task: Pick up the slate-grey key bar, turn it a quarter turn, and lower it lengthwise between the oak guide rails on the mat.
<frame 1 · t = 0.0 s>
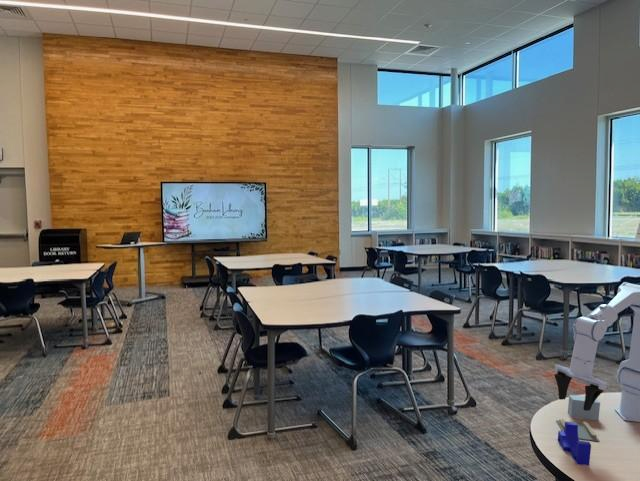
hand: (574, 404, 137), 11 cm above the table, tool pointing down, fingers open, 7 cm apart
key bar: (582, 416, 152), on the table
guide mat: (576, 431, 143), on the table
guide rails: (576, 431, 143), resting on guide mat
cable clip: (572, 453, 131), on the table
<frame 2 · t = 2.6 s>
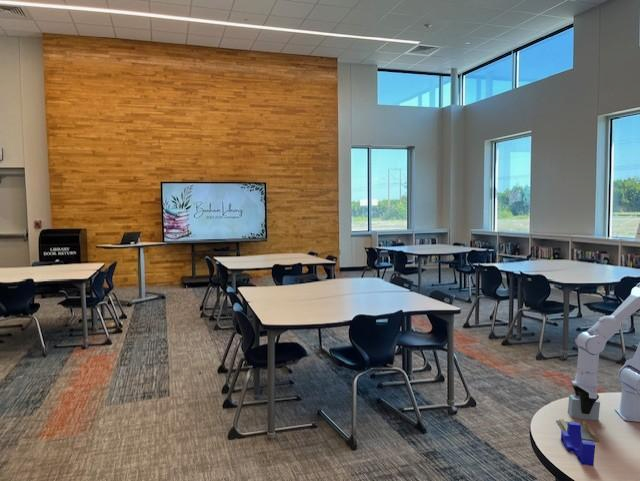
hand: (583, 410, 152), 2 cm above the table, tool pointing down, fingers closed on key bar, 4 cm apart
key bar: (582, 416, 152), on the table, touching gripper
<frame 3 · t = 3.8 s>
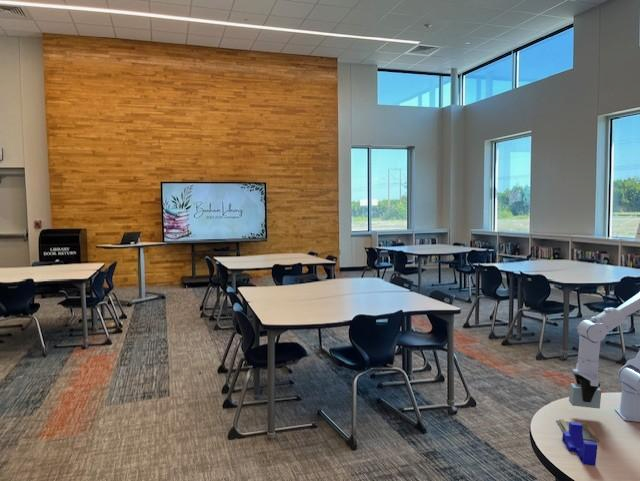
hand: (584, 398, 152), 6 cm above the table, tool pointing down, fingers closed on key bar, 4 cm apart
key bar: (584, 404, 152), point 4 cm above the table, touching gripper
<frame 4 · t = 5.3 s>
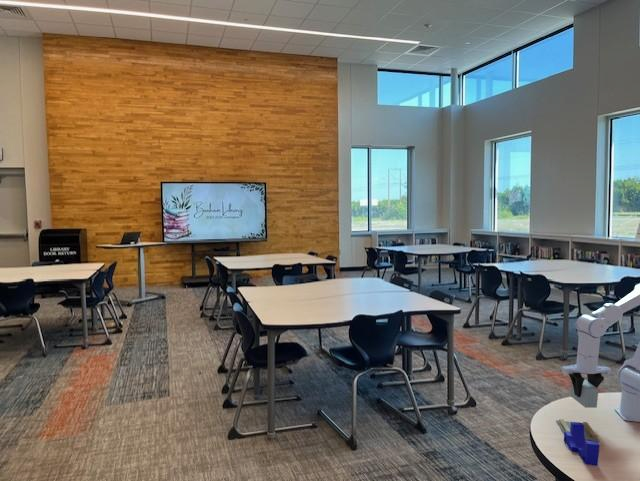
hand: (583, 395, 148), 8 cm above the table, tool pointing down, fingers closed on key bar, 4 cm apart
key bar: (583, 401, 148), point 6 cm above the table, touching gripper
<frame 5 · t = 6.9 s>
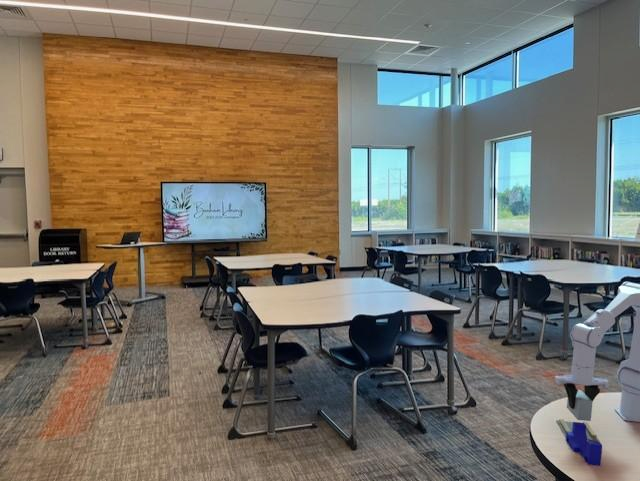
hand: (579, 408, 142), 7 cm above the table, tool pointing down, fingers closed on key bar, 4 cm apart
key bar: (578, 414, 142), point 5 cm above the table, touching gripper
when the fingers open (4 cm above the table, at t = 8.0 s): key bar drops 1 cm, resting on guide mat.
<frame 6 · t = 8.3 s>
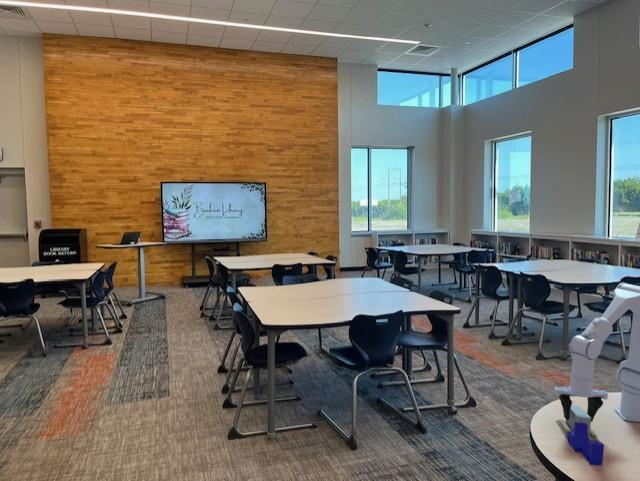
hand: (578, 419, 142), 4 cm above the table, tool pointing down, fingers open, 6 cm apart
key bar: (577, 430, 143), resting on guide mat
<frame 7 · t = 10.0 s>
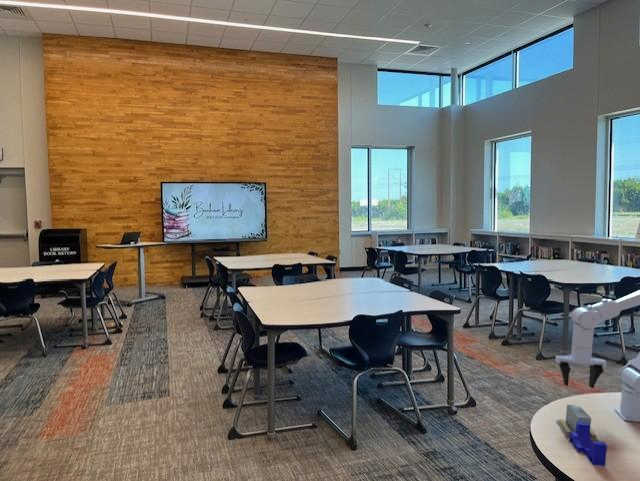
hand: (578, 385, 153), 9 cm above the table, tool pointing down, fingers open, 7 cm apart
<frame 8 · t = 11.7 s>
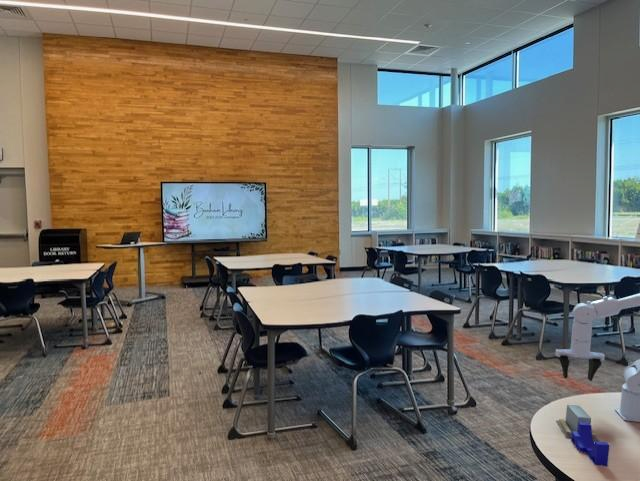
hand: (577, 378, 159), 9 cm above the table, tool pointing down, fingers open, 7 cm apart
at the end: key bar 0.0 cm from the target spot, resting on guide mat; key bar tilted 0°; the gripper is holding nothing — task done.
